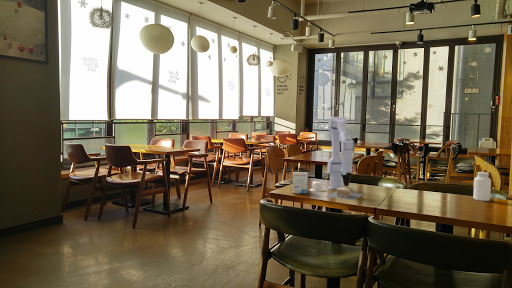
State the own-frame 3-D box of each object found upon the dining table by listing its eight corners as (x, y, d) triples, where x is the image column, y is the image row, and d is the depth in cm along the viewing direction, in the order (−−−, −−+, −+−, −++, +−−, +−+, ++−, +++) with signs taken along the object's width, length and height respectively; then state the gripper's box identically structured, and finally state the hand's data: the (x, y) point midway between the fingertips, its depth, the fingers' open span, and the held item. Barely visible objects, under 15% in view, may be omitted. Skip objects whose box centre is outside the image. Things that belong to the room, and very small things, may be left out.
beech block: (340, 187, 219) (337, 188, 212) (351, 188, 216) (347, 190, 209) (340, 194, 219) (336, 196, 213) (351, 195, 216) (347, 197, 210)
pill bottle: (487, 198, 215) (489, 172, 214) (491, 201, 207) (493, 173, 206) (471, 197, 217) (473, 171, 216) (474, 200, 210) (476, 173, 209)
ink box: (307, 192, 226) (307, 171, 225) (307, 193, 221) (307, 173, 220) (292, 191, 227) (292, 171, 226) (292, 193, 222) (292, 172, 221)
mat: (336, 191, 228) (336, 190, 228) (363, 194, 220) (363, 193, 220) (324, 197, 211) (324, 196, 211) (354, 201, 203) (354, 200, 203)
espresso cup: (312, 188, 237) (313, 180, 237) (326, 190, 233) (327, 182, 232) (307, 190, 229) (307, 182, 229) (321, 192, 225) (321, 184, 225)
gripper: (343, 160, 225) (342, 183, 226) (336, 162, 212) (336, 187, 213) (355, 161, 222) (354, 184, 223) (349, 163, 209) (348, 188, 210)
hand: (346, 186), depth 217 cm, fingers closed
